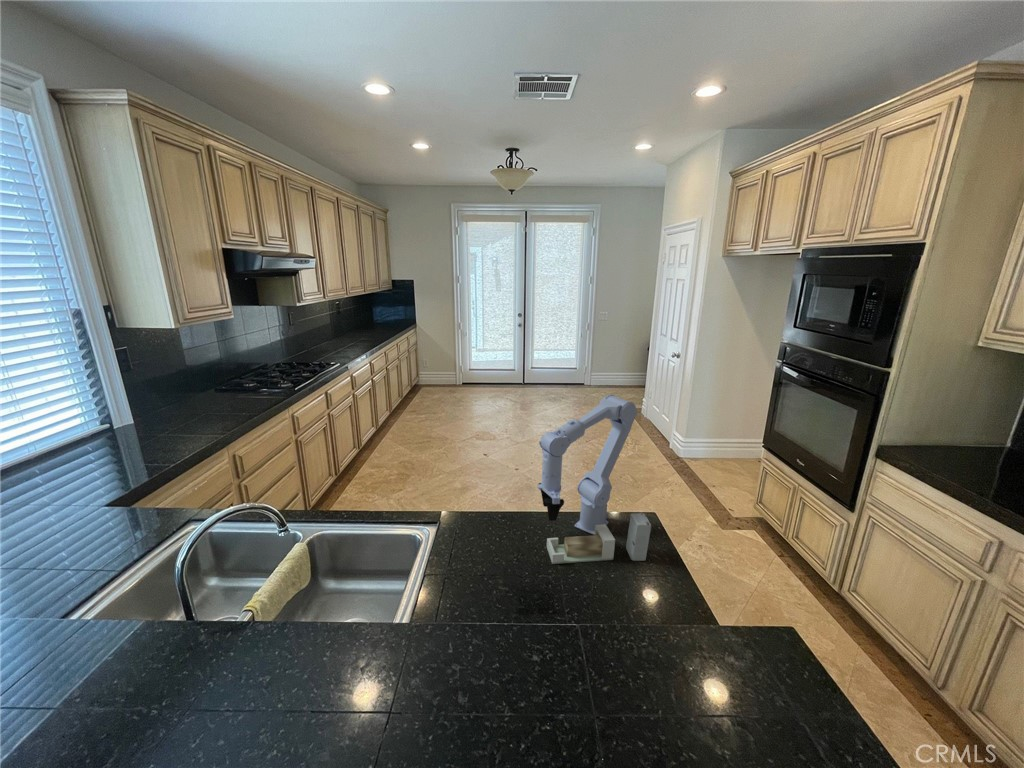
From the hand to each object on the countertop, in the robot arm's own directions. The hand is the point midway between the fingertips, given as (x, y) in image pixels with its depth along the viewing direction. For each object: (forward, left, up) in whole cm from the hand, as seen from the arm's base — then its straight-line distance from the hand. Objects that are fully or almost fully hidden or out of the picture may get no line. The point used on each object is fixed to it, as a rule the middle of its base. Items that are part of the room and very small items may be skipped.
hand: (549, 512), depth 122 cm
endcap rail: (0, +11, -9) cm, 14 cm away
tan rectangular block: (-2, +12, -9) cm, 15 cm away
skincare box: (-11, +24, -10) cm, 28 cm away
